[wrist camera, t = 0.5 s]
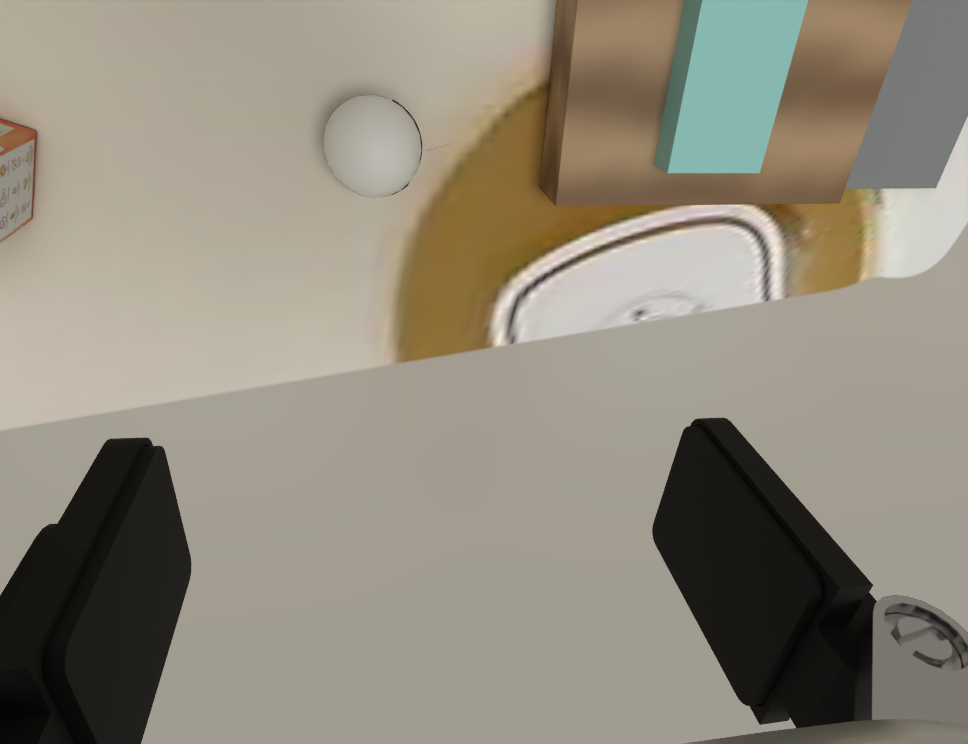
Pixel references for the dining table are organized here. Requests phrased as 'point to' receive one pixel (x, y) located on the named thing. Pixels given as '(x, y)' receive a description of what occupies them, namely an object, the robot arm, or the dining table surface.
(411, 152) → the white sphere
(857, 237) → the dining table surface
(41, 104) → the dining table surface
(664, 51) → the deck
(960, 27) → the mat
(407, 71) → the dining table surface
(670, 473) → the robot arm
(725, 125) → the teal rectangular block
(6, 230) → the cracker box
